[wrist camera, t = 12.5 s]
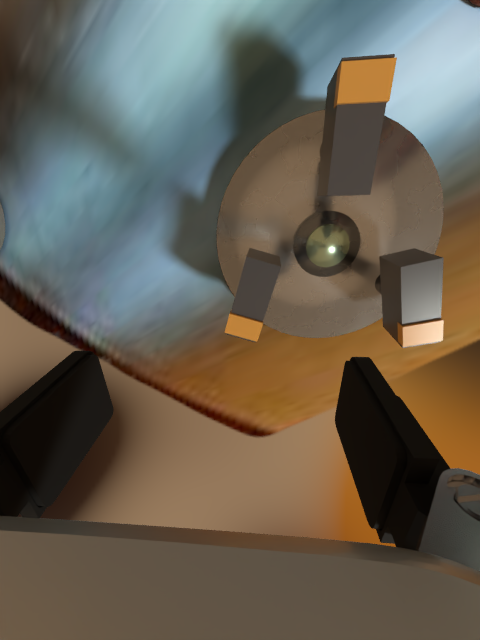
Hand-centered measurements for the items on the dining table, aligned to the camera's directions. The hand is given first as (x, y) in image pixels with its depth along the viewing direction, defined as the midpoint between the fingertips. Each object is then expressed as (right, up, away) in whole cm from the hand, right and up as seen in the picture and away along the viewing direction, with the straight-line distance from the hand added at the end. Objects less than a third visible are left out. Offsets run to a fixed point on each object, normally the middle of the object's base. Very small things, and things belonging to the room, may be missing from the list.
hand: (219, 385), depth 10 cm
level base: (+8, +10, +13) cm, 18 cm away
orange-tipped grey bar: (+7, +15, +9) cm, 19 cm away
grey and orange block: (+13, +6, +12) cm, 19 cm away
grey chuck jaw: (+2, +6, +13) cm, 15 cm away
